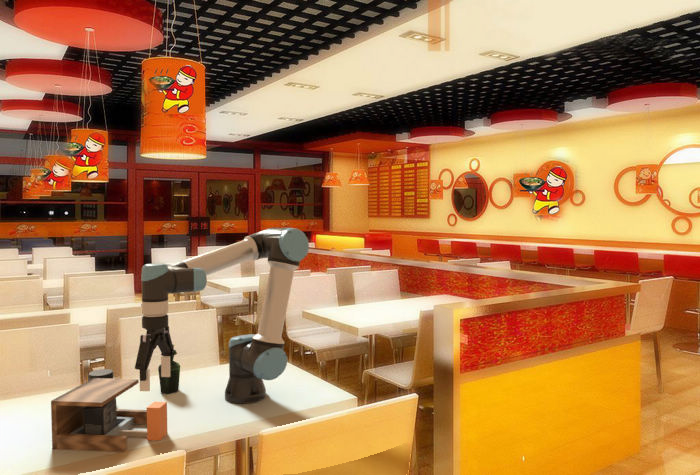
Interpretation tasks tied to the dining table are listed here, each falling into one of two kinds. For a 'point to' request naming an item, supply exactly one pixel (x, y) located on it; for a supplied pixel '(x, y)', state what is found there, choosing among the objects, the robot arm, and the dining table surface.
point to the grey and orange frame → (154, 430)
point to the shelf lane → (71, 415)
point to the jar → (101, 374)
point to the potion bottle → (172, 382)
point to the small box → (100, 418)
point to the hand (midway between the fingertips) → (155, 383)
